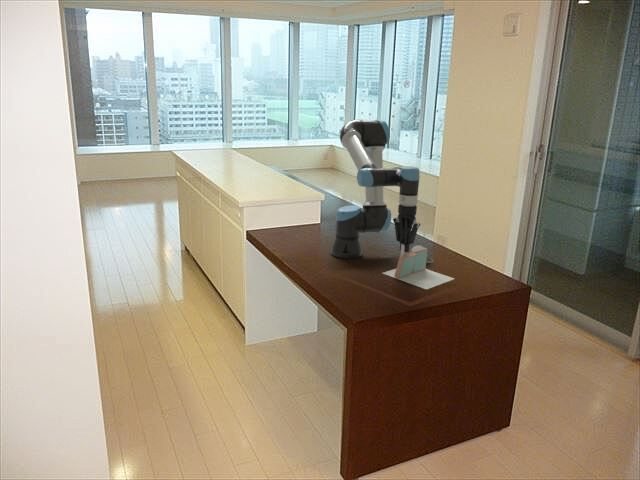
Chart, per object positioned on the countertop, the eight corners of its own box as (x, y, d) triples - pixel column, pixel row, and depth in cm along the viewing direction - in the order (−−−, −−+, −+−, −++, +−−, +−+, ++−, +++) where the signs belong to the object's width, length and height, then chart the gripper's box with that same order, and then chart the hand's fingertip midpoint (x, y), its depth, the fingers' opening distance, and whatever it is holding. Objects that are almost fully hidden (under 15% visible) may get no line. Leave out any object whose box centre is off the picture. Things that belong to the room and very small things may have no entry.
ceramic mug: (411, 265, 245) (413, 249, 243) (409, 259, 253) (410, 244, 251) (434, 267, 245) (436, 251, 243) (431, 261, 253) (433, 245, 250)
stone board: (381, 275, 231) (381, 273, 231) (410, 266, 244) (410, 263, 244) (426, 292, 214) (426, 289, 214) (454, 281, 227) (455, 278, 227)
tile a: (394, 276, 226) (399, 256, 221) (407, 272, 231) (413, 252, 227) (398, 279, 224) (404, 258, 220) (411, 274, 230) (417, 254, 225)
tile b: (408, 272, 232) (410, 250, 229) (421, 268, 238) (423, 247, 235) (413, 274, 231) (414, 252, 228) (425, 269, 236) (427, 248, 233)
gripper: (389, 202, 221) (386, 256, 228) (414, 208, 212) (410, 264, 218) (401, 200, 226) (397, 253, 233) (426, 206, 217) (421, 260, 223)
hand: (403, 258), depth 226 cm, fingers closed
